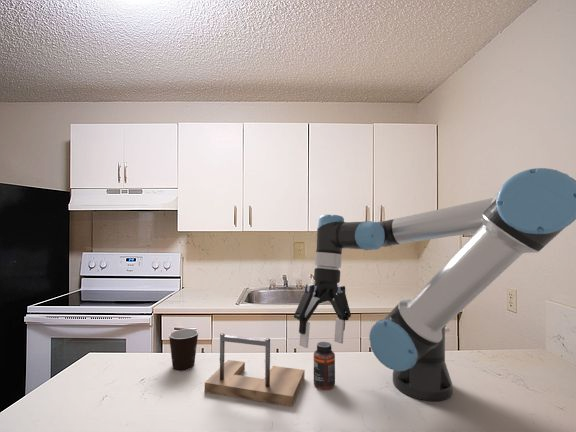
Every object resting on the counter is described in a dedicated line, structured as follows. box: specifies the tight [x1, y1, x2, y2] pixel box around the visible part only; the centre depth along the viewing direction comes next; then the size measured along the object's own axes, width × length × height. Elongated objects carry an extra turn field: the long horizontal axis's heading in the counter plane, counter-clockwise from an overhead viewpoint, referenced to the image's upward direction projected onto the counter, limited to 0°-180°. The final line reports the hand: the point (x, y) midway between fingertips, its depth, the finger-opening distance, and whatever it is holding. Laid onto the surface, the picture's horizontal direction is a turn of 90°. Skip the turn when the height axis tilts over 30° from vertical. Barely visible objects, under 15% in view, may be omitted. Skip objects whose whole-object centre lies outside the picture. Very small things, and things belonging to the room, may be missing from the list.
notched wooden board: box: [204, 359, 305, 408], centre depth 86 cm, size 24×14×2 cm, turn 75°
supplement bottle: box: [313, 341, 336, 391], centre depth 86 cm, size 6×6×11 cm
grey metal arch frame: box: [219, 333, 271, 387], centre depth 83 cm, size 14×1×12 cm, turn 75°
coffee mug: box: [168, 328, 199, 372], centre depth 98 cm, size 12×9×10 cm
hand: (321, 344), depth 87 cm, fingers open, 13 cm apart
